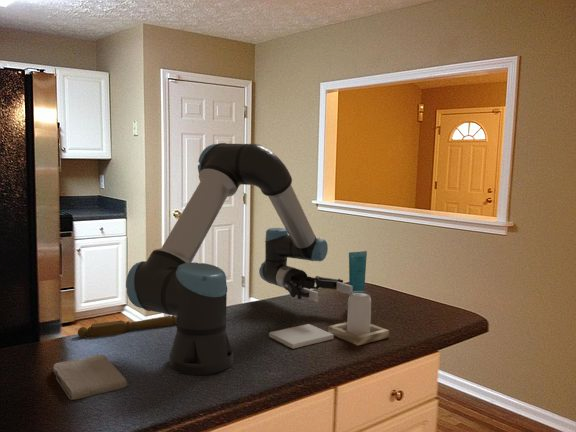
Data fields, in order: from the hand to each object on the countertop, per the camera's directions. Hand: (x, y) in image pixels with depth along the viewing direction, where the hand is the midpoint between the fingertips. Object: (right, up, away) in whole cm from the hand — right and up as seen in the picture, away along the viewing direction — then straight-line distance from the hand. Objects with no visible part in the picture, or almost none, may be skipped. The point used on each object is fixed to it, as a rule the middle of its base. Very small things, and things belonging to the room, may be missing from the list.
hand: (334, 293), depth 155 cm
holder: (+6, -11, -8) cm, 14 cm away
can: (+6, -11, -8) cm, 15 cm away
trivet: (-10, -10, -11) cm, 18 cm away
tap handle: (-58, -10, -7) cm, 59 cm away
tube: (+9, -8, +19) cm, 22 cm away
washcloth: (-58, -13, -40) cm, 72 cm away
